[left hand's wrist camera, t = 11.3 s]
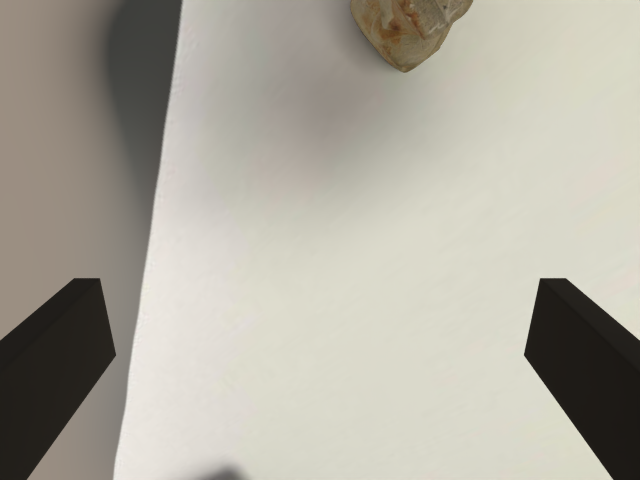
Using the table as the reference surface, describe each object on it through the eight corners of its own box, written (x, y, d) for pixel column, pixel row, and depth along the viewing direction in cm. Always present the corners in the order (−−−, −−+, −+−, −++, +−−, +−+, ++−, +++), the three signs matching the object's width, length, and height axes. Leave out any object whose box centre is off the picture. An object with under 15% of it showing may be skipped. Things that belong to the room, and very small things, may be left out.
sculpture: (398, -40, 34) (455, -119, 20) (443, 42, 36) (521, 24, 22) (337, 7, 35) (349, -35, 21) (383, 84, 37) (422, 93, 23)
